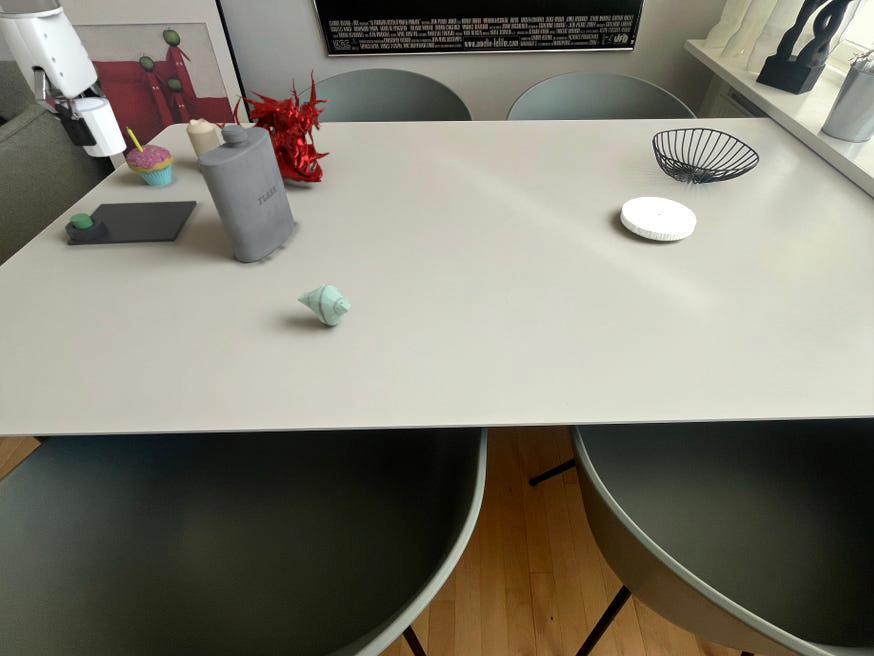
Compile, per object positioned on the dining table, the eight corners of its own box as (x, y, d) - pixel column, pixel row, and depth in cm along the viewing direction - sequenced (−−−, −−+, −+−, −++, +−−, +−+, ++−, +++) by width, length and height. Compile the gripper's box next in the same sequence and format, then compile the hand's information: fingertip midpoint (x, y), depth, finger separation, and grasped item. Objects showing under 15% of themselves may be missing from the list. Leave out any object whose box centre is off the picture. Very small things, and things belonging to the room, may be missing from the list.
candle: (196, 170, 107) (177, 124, 100) (211, 160, 111) (194, 114, 104) (218, 173, 106) (200, 126, 99) (233, 163, 110) (216, 117, 103)
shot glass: (138, 141, 82) (117, 96, 77) (117, 158, 77) (93, 112, 72) (97, 140, 82) (73, 95, 76) (74, 157, 77) (46, 111, 72)
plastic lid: (664, 204, 101) (667, 192, 99) (707, 238, 92) (711, 226, 90) (606, 214, 98) (608, 202, 96) (644, 250, 89) (648, 238, 87)
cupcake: (170, 190, 101) (143, 131, 92) (129, 189, 101) (98, 130, 92) (187, 171, 107) (162, 114, 98) (148, 171, 107) (120, 114, 98)
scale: (66, 245, 86) (58, 233, 84) (101, 207, 96) (94, 195, 94) (174, 241, 87) (168, 229, 86) (197, 204, 97) (192, 192, 95)
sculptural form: (307, 152, 90) (363, 82, 99) (185, 96, 90) (253, 30, 99) (320, 220, 109) (367, 156, 118) (220, 174, 109) (274, 112, 118)
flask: (260, 266, 83) (217, 149, 68) (230, 260, 84) (182, 144, 69) (303, 223, 93) (274, 113, 78) (276, 218, 94) (242, 109, 79)
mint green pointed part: (302, 327, 72) (290, 291, 67) (315, 310, 75) (305, 274, 70) (351, 337, 71) (343, 301, 66) (363, 319, 74) (355, 284, 69)
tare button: (72, 230, 86) (66, 221, 84) (80, 222, 88) (74, 213, 86) (89, 229, 86) (83, 220, 85) (96, 221, 88) (91, 212, 86)
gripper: (30, -12, 70) (96, 116, 83) (-48, 13, 58) (44, 159, 71) (84, -12, 71) (142, 116, 84) (18, 14, 59) (97, 158, 72)
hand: (96, 134), depth 77 cm, fingers closed on shot glass, 6 cm apart
